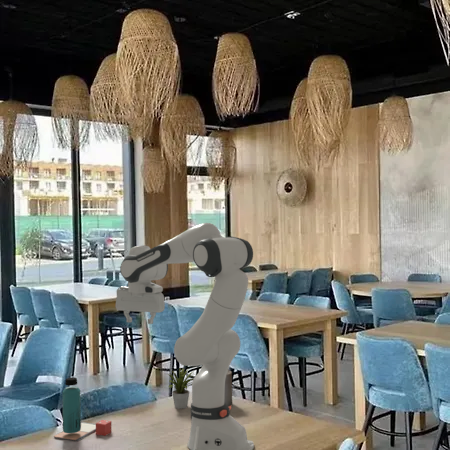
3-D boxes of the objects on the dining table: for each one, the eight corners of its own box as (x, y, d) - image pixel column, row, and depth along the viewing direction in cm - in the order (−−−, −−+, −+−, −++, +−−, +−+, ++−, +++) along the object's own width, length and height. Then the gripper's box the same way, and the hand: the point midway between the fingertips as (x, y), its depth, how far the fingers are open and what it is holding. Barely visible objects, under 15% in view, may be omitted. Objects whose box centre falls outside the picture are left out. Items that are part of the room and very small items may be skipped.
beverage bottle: (76, 438, 206) (76, 380, 206) (58, 437, 208) (58, 380, 208) (84, 431, 213) (84, 376, 213) (67, 430, 214) (67, 375, 214)
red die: (111, 432, 214) (111, 420, 214) (105, 435, 211) (105, 424, 211) (102, 430, 216) (102, 419, 216) (95, 434, 212) (95, 422, 212)
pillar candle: (222, 399, 254) (221, 364, 254) (237, 405, 246) (236, 369, 246) (204, 404, 248) (203, 368, 248) (218, 409, 240) (218, 373, 240)
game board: (103, 426, 220) (103, 424, 220) (76, 441, 205) (76, 439, 205) (81, 423, 224) (81, 421, 224) (52, 438, 208) (52, 436, 208)
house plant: (177, 415, 233) (177, 374, 233) (155, 408, 242) (155, 368, 243) (203, 407, 243) (203, 367, 243) (181, 400, 253) (181, 362, 253)
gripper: (112, 287, 230) (112, 322, 230) (158, 289, 223) (158, 325, 223) (121, 285, 236) (121, 320, 236) (166, 287, 229) (166, 323, 228)
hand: (139, 323), depth 229 cm, fingers open, 8 cm apart
